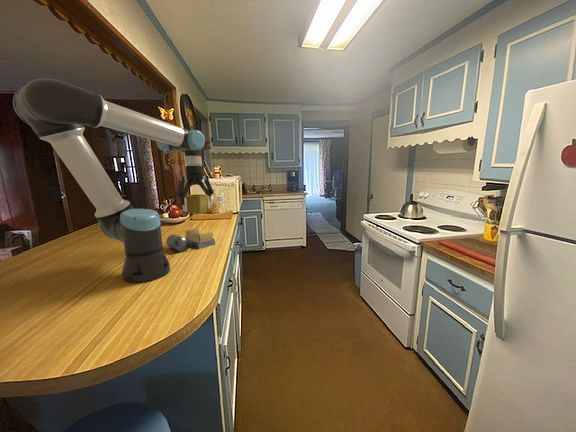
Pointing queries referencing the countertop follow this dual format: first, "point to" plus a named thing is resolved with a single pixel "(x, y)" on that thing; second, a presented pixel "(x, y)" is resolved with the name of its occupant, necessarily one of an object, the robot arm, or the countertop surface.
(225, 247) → the countertop surface
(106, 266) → the countertop surface
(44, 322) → the countertop surface
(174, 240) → the motor block
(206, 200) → the flower pot
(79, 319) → the countertop surface
